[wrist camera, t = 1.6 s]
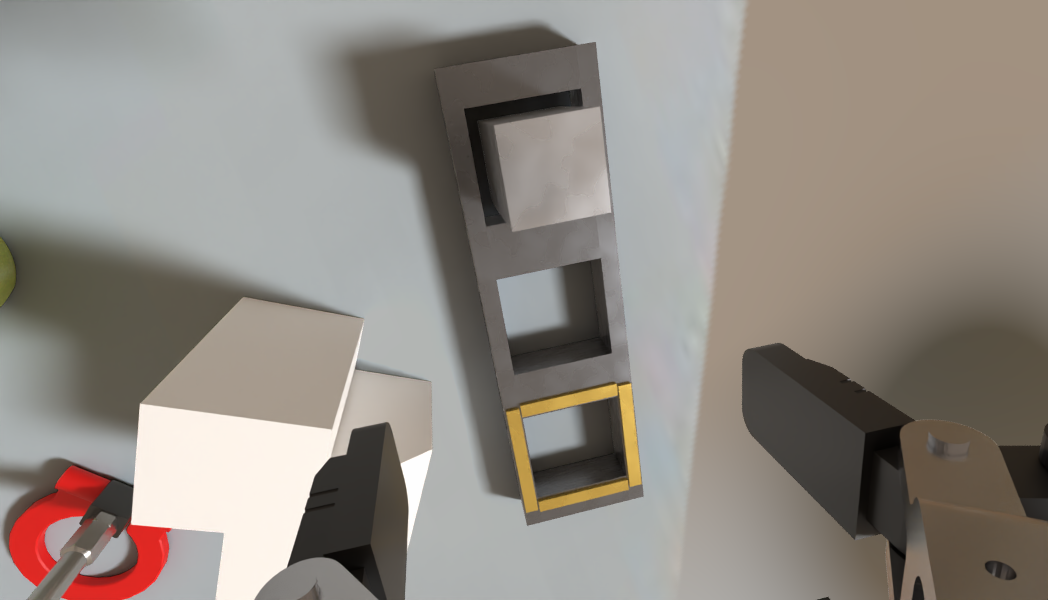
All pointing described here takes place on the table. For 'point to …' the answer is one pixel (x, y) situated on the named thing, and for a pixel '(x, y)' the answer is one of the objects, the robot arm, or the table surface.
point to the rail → (503, 253)
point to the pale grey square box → (546, 165)
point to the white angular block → (266, 432)
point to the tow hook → (85, 540)
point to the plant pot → (6, 272)
